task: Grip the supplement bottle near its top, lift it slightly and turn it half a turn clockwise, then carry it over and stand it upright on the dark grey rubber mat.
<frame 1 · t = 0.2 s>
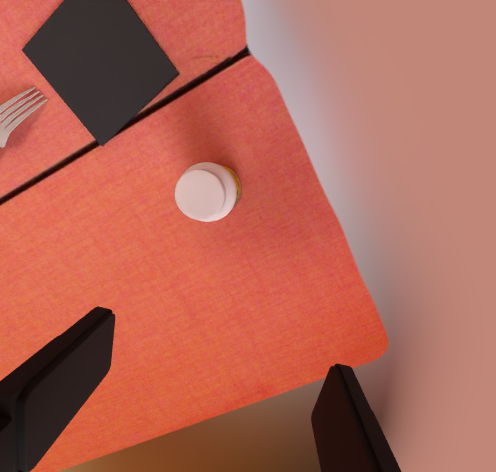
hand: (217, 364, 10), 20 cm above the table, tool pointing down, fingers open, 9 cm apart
supplement bottle: (219, 188, 28), on the table
mat: (101, 62, 25), on the table
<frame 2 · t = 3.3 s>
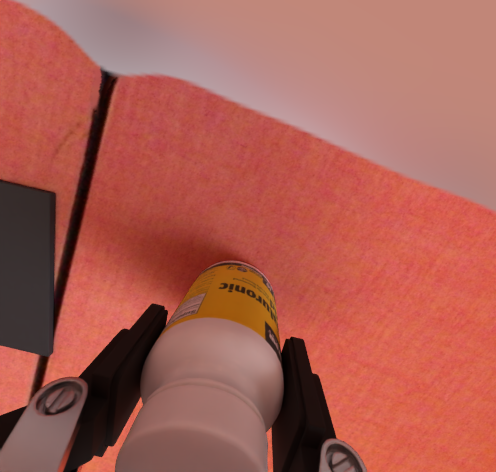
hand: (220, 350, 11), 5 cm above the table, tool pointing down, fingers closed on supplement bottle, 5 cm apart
supplement bottle: (233, 294, 16), on the table, touching gripper
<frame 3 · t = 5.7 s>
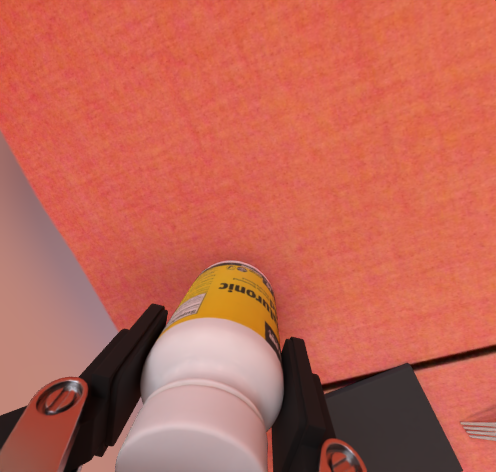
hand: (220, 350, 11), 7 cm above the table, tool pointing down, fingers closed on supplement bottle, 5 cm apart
supplement bottle: (233, 294, 16), point 2 cm above the table, touching gripper
mat: (365, 440, 20), on the table
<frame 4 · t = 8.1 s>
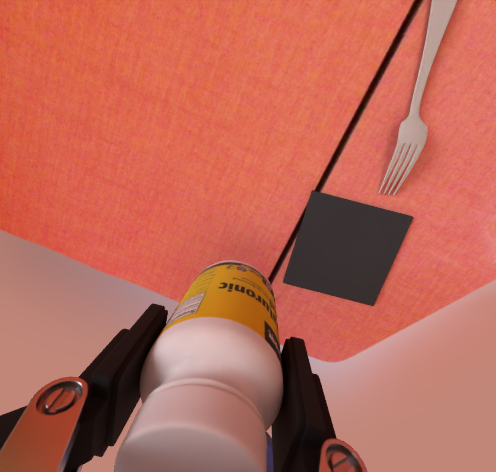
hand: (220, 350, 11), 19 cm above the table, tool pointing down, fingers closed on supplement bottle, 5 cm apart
fork: (413, 93, 24), on the table
supplement bottle: (233, 294, 16), point 14 cm above the table, touching gripper
mat: (343, 250, 29), on the table
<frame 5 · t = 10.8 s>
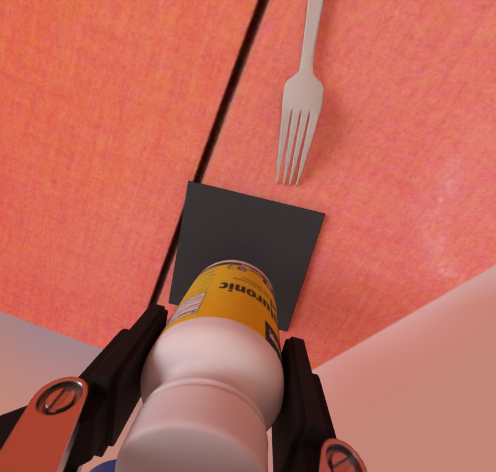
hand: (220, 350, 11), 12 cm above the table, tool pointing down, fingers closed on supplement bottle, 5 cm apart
fork: (308, 41, 18), on the table
supplement bottle: (233, 294, 16), point 7 cm above the table, touching gripper
mat: (241, 260, 22), on the table
when the fingers open (5 cm above the table, at t = 12.8 s): supplement bottle stays where it is, resting on mat.
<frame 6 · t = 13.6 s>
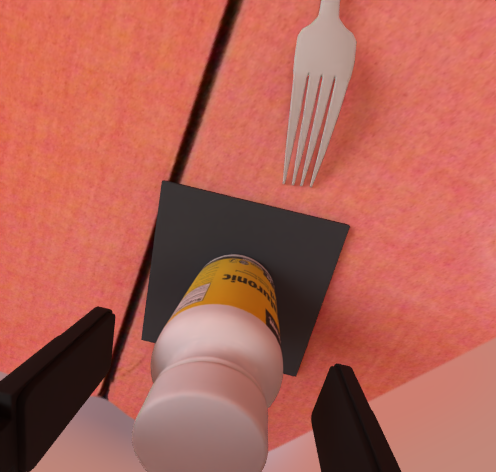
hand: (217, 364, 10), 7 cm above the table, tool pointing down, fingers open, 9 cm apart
supplement bottle: (235, 287, 16), resting on mat
mat: (236, 285, 17), on the table
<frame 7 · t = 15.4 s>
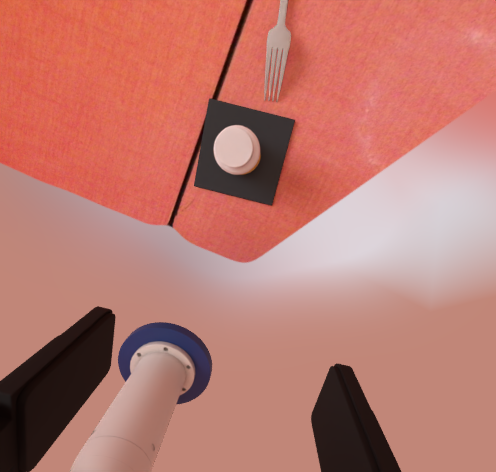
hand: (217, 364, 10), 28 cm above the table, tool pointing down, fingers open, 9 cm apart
fork: (283, 7, 29), on the table
supplement bottle: (242, 154, 34), resting on mat
mat: (242, 154, 34), on the table
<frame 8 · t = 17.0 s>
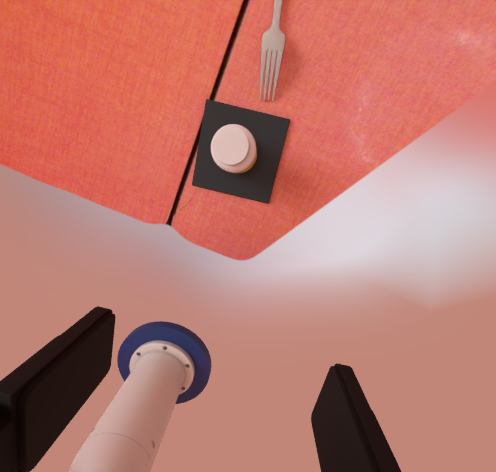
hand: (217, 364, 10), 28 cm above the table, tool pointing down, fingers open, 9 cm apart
fork: (277, 11, 30), on the table
supplement bottle: (238, 154, 34), resting on mat
mat: (239, 154, 35), on the table
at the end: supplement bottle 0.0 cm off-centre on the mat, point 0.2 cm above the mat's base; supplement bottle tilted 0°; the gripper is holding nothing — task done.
